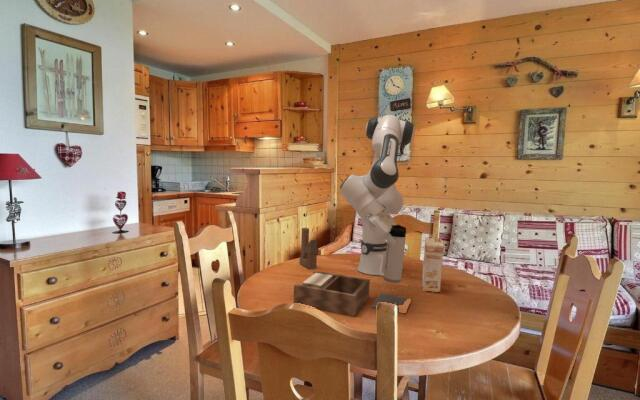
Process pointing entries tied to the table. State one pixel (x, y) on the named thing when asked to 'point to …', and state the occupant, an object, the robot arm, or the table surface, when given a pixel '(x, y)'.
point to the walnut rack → (335, 294)
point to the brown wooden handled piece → (308, 250)
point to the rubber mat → (390, 300)
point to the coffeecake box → (432, 264)
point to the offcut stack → (318, 280)
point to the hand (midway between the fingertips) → (397, 242)
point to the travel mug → (395, 255)
